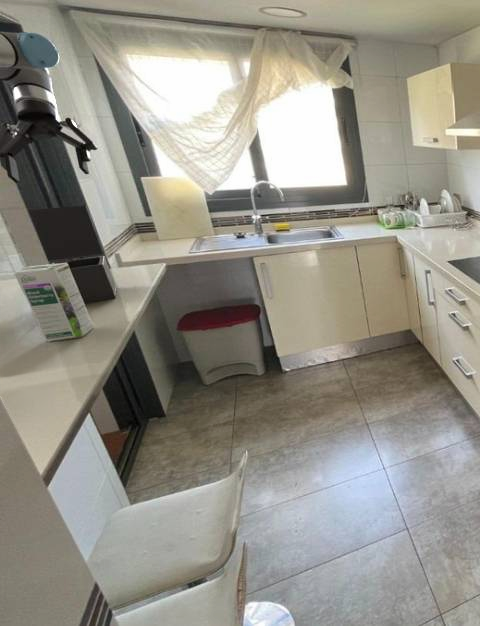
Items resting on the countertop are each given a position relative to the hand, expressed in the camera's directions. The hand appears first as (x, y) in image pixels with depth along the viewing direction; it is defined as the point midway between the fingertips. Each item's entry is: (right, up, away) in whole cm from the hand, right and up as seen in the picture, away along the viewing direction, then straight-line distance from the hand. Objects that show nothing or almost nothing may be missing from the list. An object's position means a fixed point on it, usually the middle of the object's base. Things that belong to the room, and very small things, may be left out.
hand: (49, 175), depth 117 cm
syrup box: (+30, -40, -23) cm, 55 cm away
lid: (+7, -15, -2) cm, 17 cm away
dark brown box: (+11, -31, -1) cm, 33 cm away
